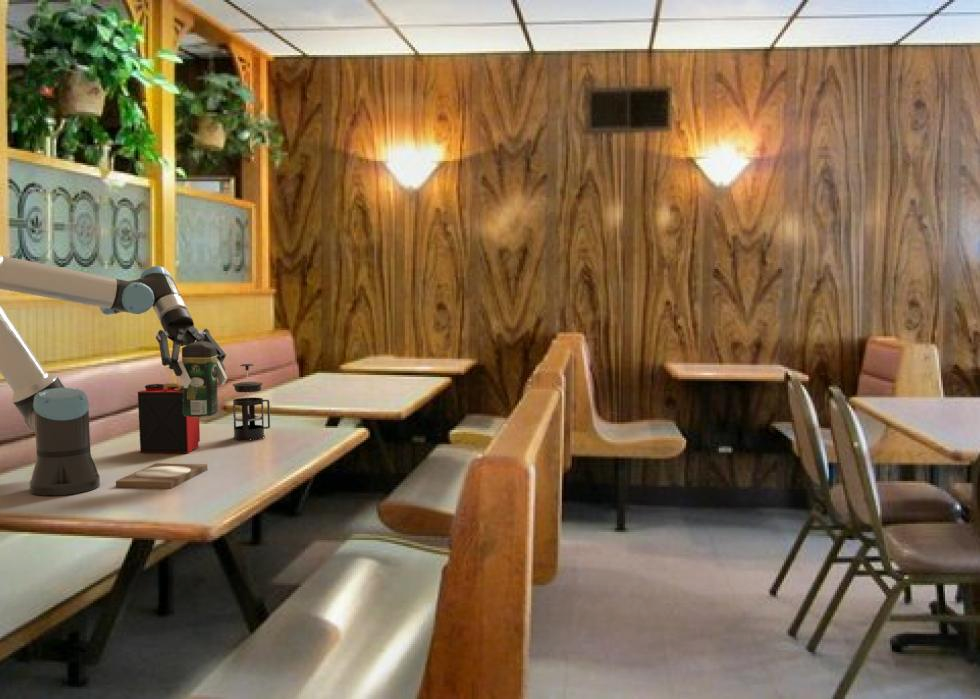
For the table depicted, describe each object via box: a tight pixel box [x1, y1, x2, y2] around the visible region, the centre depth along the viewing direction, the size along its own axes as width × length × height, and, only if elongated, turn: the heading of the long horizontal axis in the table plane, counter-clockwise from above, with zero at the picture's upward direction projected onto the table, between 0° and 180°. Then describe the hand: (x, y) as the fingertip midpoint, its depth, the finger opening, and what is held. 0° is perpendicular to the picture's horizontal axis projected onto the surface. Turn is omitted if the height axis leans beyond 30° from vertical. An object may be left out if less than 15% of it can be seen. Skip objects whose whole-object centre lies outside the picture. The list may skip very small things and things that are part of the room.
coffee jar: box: [181, 340, 219, 418], centre depth 228 cm, size 10×8×19 cm
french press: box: [232, 363, 271, 441], centre depth 280 cm, size 12×9×23 cm
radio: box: [137, 382, 201, 454], centre depth 262 cm, size 16×10×20 cm, turn 84°
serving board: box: [115, 462, 208, 489], centre depth 227 cm, size 20×14×2 cm
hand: (206, 383), depth 226 cm, fingers closed on coffee jar, 9 cm apart
